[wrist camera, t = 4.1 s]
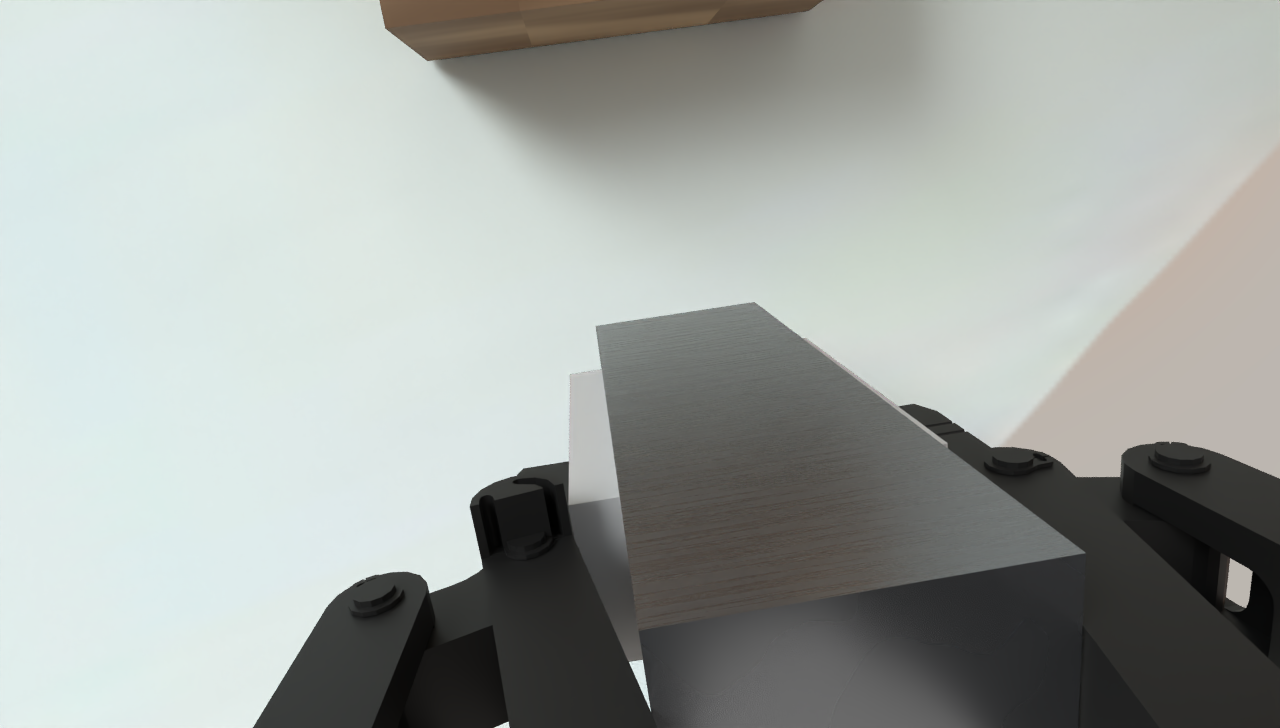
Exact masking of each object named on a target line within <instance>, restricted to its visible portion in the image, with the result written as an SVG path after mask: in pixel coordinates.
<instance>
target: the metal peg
mask: <svg viewBox="0 0 1280 728" xmlns="http://www.w3.org/2000/svg"><path fill="white" fill-rule="evenodd" d="M596 332H597V339H598V346H599V354H600V361H601V368H602V375H603V382H604V389H605V396H606V403H607V411H608V418H609V425H610V432H611V439H612V446H613V453H614V460H615V467H616V475H617V482H618V489H619V496H620V503H621V510H622V517H623V524H624V531H625V539H626V546H627V553H628V560H629V567H630V574H631V581H632V588H633V595H634V603H635V610H636V617H637V624H638V631H639V637H640V644H641V650H642V656H643V663H644V669H645V675H646V682H647V688H648V695H649V701H650V707H651V714H652V716H653V718H654V721H655V723H656V725H657V727H658V728H1078V715H1079V694H1080V672H1081V650H1082V628H1083V607H1084V585H1085V563H1086V553H1085V552H1084V551H1083V550H1081V549H1080V548H1079V547H1077V546H1076V545H1075V544H1073V543H1072V542H1071V541H1069V540H1068V539H1067V538H1065V537H1064V536H1063V535H1061V534H1060V533H1059V532H1058V531H1056V530H1055V529H1054V528H1052V527H1051V526H1050V525H1048V524H1047V523H1046V522H1044V521H1043V520H1042V519H1040V518H1039V517H1038V516H1036V515H1035V514H1034V513H1032V512H1031V511H1030V510H1028V509H1027V508H1026V507H1025V506H1023V505H1022V504H1021V503H1019V502H1018V501H1017V500H1015V499H1014V498H1013V497H1011V496H1010V495H1009V494H1007V493H1006V492H1005V491H1003V490H1002V489H1001V488H999V487H998V486H997V485H995V484H994V483H993V482H991V481H990V480H989V479H988V478H986V477H985V476H984V475H982V474H981V473H980V472H978V471H977V470H976V469H974V468H973V467H972V466H970V465H969V464H968V463H966V462H965V461H964V460H962V459H961V458H960V457H958V456H957V455H956V454H954V453H953V452H952V451H951V450H949V449H948V448H947V447H945V446H944V445H943V444H941V443H940V442H939V441H937V440H936V439H935V438H933V437H932V436H931V435H929V434H928V433H927V432H925V431H924V430H923V429H921V428H920V427H919V426H918V425H916V424H915V423H914V422H912V421H911V420H910V419H908V418H907V417H906V416H904V415H903V414H902V413H900V412H899V411H898V410H896V409H895V408H894V407H892V406H891V405H890V404H888V403H887V402H886V401H884V400H883V399H882V398H881V397H879V396H878V395H877V394H875V393H874V392H873V391H871V390H870V389H869V388H867V387H866V386H865V385H863V384H862V383H861V382H859V381H858V380H857V379H855V378H854V377H853V376H851V375H850V374H849V373H848V372H846V371H845V370H844V369H842V368H841V367H840V366H838V365H837V364H836V363H834V362H833V361H832V360H830V359H829V358H828V357H826V356H825V355H824V354H822V353H821V352H820V351H818V350H817V349H816V348H814V347H813V346H812V345H811V344H809V343H808V342H807V341H805V340H804V339H803V338H801V337H800V336H799V335H797V334H796V333H795V332H793V331H792V330H791V329H789V328H788V327H787V326H785V325H784V324H783V323H781V322H780V321H779V320H778V319H776V318H775V317H774V316H772V315H771V314H770V313H768V312H767V311H766V310H764V309H763V308H762V307H760V306H759V305H758V304H756V303H755V302H752V303H745V304H739V305H732V306H726V307H719V308H712V309H706V310H699V311H693V312H686V313H679V314H673V315H666V316H659V317H653V318H646V319H640V320H633V321H626V322H620V323H613V324H607V325H600V326H596Z"/></svg>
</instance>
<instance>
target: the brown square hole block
mask: <svg viewBox="0 0 1280 728" xmlns="http://www.w3.org/2000/svg"><path fill="white" fill-rule="evenodd" d="M821 1H823V0H380V5H381V10H382V14H383V19H384V24H385V28H386V29H387V30H388V31H389V32H391V33H392V34H393V35H395V36H396V37H397V38H398V39H400V40H401V41H402V42H404V43H405V44H406V45H407V46H409V47H410V48H411V49H413V50H414V51H415V52H417V53H418V54H419V55H420V56H422V57H423V58H424V59H426V60H427V61H432V60H439V59H447V58H454V57H462V56H470V55H477V54H485V53H492V52H500V51H508V50H515V49H523V48H530V47H538V46H546V45H553V44H561V43H568V42H576V41H584V40H591V39H599V38H606V37H614V36H622V35H629V34H637V33H644V32H652V31H660V30H667V29H675V28H682V27H690V26H698V25H705V24H713V23H720V22H728V21H736V20H743V19H751V18H758V17H766V16H774V15H781V14H789V13H796V12H804V11H809V10H810V9H812V8H813V7H814V6H816V5H817V4H819V3H820V2H821Z"/></svg>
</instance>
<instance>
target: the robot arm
mask: <svg viewBox="0 0 1280 728" xmlns="http://www.w3.org/2000/svg"><path fill="white" fill-rule="evenodd" d="M803 339H804V340H805V341H807V342H808V343H809V344H811V345H812V346H813V347H814V348H816V349H817V350H818V351H820V352H821V353H822V354H824V355H825V356H826V357H828V358H829V359H830V360H832V361H833V362H834V363H836V364H837V365H838V366H840V367H841V368H842V369H844V370H845V371H846V372H848V373H849V374H850V375H851V376H853V377H854V378H855V379H857V380H858V381H859V382H861V383H862V384H863V385H865V386H866V387H867V388H869V389H870V390H871V391H873V392H874V393H875V394H877V395H878V396H879V397H881V398H882V399H883V400H884V401H886V402H887V403H888V404H890V405H891V406H892V407H894V408H895V409H896V410H898V411H899V412H900V413H902V414H903V415H904V416H906V417H907V418H908V419H910V420H911V421H912V422H914V423H915V424H916V425H918V426H919V427H920V428H921V429H923V430H924V431H925V432H927V433H928V434H929V435H931V436H932V437H933V438H935V439H936V440H937V441H939V442H940V443H941V444H943V445H944V446H945V447H947V448H948V449H949V450H951V451H952V452H953V453H954V454H956V455H957V456H958V457H960V458H961V459H962V460H964V461H965V462H966V463H968V464H969V465H970V466H972V467H973V468H974V469H976V470H977V471H978V472H980V473H981V474H982V475H984V476H985V477H986V478H988V479H989V480H990V481H991V482H993V483H994V484H995V485H997V486H998V487H999V488H1001V489H1002V490H1003V491H1005V492H1006V493H1007V494H1009V495H1010V496H1011V497H1013V498H1014V499H1015V500H1017V501H1018V502H1019V503H1021V504H1022V505H1023V506H1025V507H1026V508H1027V509H1028V510H1030V511H1031V512H1032V513H1034V514H1035V515H1036V516H1038V517H1039V518H1040V519H1042V520H1043V521H1044V522H1046V523H1047V524H1048V525H1050V526H1051V527H1052V528H1054V529H1055V530H1056V531H1058V532H1059V533H1060V534H1061V535H1063V536H1064V537H1065V538H1067V539H1068V540H1069V541H1071V542H1072V543H1073V544H1075V545H1076V546H1077V547H1079V548H1080V549H1081V550H1083V551H1084V552H1085V553H1086V563H1085V585H1084V607H1083V628H1082V650H1081V672H1080V694H1079V715H1078V728H1280V479H1279V478H1277V477H1274V476H1272V475H1269V474H1267V473H1265V472H1262V471H1260V470H1258V469H1255V468H1253V467H1250V466H1248V465H1246V464H1243V463H1241V462H1239V461H1236V460H1234V459H1232V458H1229V457H1227V456H1224V455H1222V454H1219V453H1216V452H1213V451H1210V450H1206V449H1203V448H1198V447H1193V446H1188V445H1187V444H1185V443H1179V442H1172V443H1171V444H1170V443H1169V442H1156V443H1155V444H1145V445H1139V446H1136V447H1133V448H1130V449H1128V450H1127V451H1125V452H1124V453H1123V455H1122V459H1121V475H1120V477H1075V476H1074V475H1073V474H1072V473H1071V472H1070V471H1069V470H1068V469H1067V468H1066V467H1065V466H1064V465H1063V464H1061V462H1059V461H1058V460H1056V459H1054V458H1053V457H1051V456H1049V455H1047V454H1045V453H1043V452H1038V451H1034V450H1029V449H1021V448H1015V447H995V448H991V447H989V446H988V445H986V444H985V443H983V442H982V441H980V440H979V439H977V438H976V437H975V436H973V435H972V434H970V433H969V432H965V431H964V429H963V428H961V427H960V426H958V425H957V424H955V423H953V424H952V421H951V420H949V419H948V418H946V417H945V416H943V415H942V414H940V413H939V412H938V411H935V410H932V409H928V408H925V407H922V406H919V405H915V404H910V405H904V406H897V405H895V404H894V403H893V402H891V401H890V400H889V399H887V398H886V397H885V396H883V395H882V394H881V393H879V392H878V391H877V390H875V389H874V388H873V387H871V386H870V385H869V384H867V383H866V382H864V381H863V380H862V379H860V378H859V377H858V376H856V375H855V374H854V373H852V372H851V371H850V370H848V369H847V368H846V367H844V366H843V365H842V364H840V363H839V362H838V361H836V360H835V359H834V358H832V357H831V356H829V355H828V354H827V353H825V352H824V351H823V350H821V349H820V348H819V347H817V346H816V345H815V344H813V343H812V342H811V341H809V340H808V339H807V338H803ZM470 510H471V514H472V519H473V523H474V528H475V532H476V537H477V541H478V546H479V550H480V555H481V559H482V565H483V569H482V570H481V571H479V572H478V573H477V574H475V575H473V576H471V577H470V578H468V579H466V580H464V581H462V582H459V583H457V584H455V585H452V586H449V587H447V588H444V589H441V590H438V591H435V592H432V593H430V594H429V590H428V586H427V582H426V581H425V580H424V579H423V578H422V577H421V576H420V575H417V574H413V573H410V572H392V573H387V574H383V575H374V576H371V577H368V578H366V580H361V581H359V582H357V583H355V584H353V586H351V587H350V588H348V589H347V590H345V591H344V592H342V593H341V594H339V595H338V596H337V597H336V598H335V599H334V600H333V601H332V602H331V603H330V604H329V605H328V607H327V608H326V609H325V611H324V613H323V614H322V616H321V618H320V619H319V621H318V622H317V624H316V626H315V627H314V629H313V631H312V632H311V634H310V636H309V637H308V639H307V640H306V642H305V644H304V645H303V647H302V649H301V650H300V652H299V654H298V655H297V657H296V658H295V660H294V662H293V663H292V665H291V667H290V668H289V670H288V671H287V673H286V675H285V676H284V678H283V680H282V681H281V683H280V685H279V686H278V688H277V689H276V691H275V693H274V694H273V696H272V698H271V699H270V701H269V702H268V704H267V706H266V707H265V709H264V711H263V712H262V714H261V716H260V717H259V719H258V720H257V722H256V724H255V725H254V727H253V728H494V727H497V726H499V725H501V724H503V723H506V722H508V721H509V726H510V728H658V727H657V725H656V723H655V721H654V718H653V716H652V714H651V711H650V709H649V707H648V705H647V702H646V700H645V698H644V696H643V693H642V691H641V689H640V687H639V684H638V682H637V680H636V677H635V675H634V673H633V671H632V668H631V666H630V664H629V662H631V661H637V660H642V659H643V656H642V650H641V644H640V637H639V631H638V624H637V617H636V610H635V603H634V595H633V588H632V581H631V574H630V567H629V560H628V553H627V546H626V539H625V531H624V524H623V517H622V510H621V503H620V496H619V489H618V482H617V475H616V467H615V460H614V453H613V446H612V439H611V432H610V425H609V418H608V411H607V403H606V396H605V389H604V382H603V375H602V369H601V370H594V371H588V372H581V373H575V374H570V415H569V461H568V462H562V463H556V464H550V465H543V466H537V467H531V468H525V469H523V470H522V471H521V472H520V473H519V474H518V475H517V476H514V477H510V478H507V479H504V480H501V481H498V482H495V483H493V484H491V485H489V486H487V487H485V488H484V489H482V490H480V491H479V492H478V493H477V494H476V495H475V496H474V497H473V498H472V501H471V504H470ZM1230 558H1231V559H1233V560H1235V561H1236V562H1238V563H1240V564H1242V565H1244V566H1245V567H1247V568H1249V569H1250V570H1251V571H1253V573H1252V582H1251V590H1250V598H1249V603H1248V605H1247V608H1244V607H1242V606H1239V605H1237V604H1236V603H1234V602H1233V601H1231V600H1229V599H1228V598H1226V589H1227V581H1228V572H1229V563H1230Z"/></svg>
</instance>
